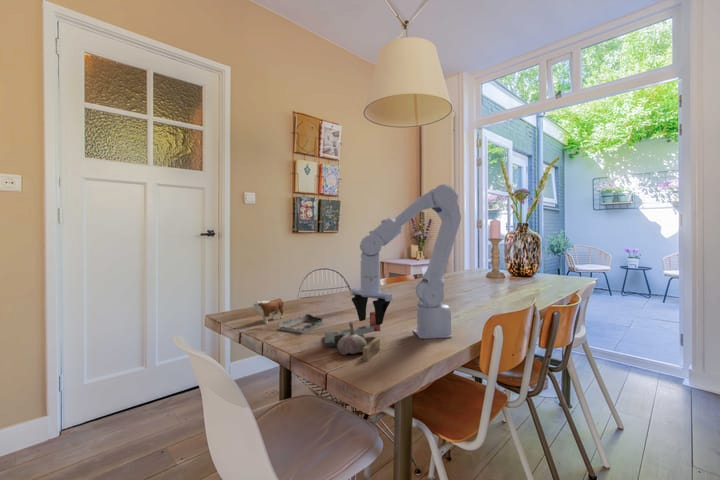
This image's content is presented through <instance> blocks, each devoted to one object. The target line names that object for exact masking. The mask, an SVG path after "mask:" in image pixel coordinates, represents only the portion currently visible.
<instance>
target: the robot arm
mask: <svg viewBox="0 0 720 480" xmlns="http://www.w3.org/2000/svg"><path fill="white" fill-rule="evenodd" d="M458 199H459V196H458V194H457V192H456V191H455V190H454V188H453V187H452V186H451V185H449V184H445V183H444V184H443V183H442V184H439V185H437V186H436V187H434V188H433V189H430V190H429V191H428V192H427V193H424V194H422V195H421V196H420V197H418V198H416V199H415V200H414V201H413V202H412V203H410V205H408V206H407V207H406V208H405V209H404V210H402V211H401V213H399V214H398V215H397V216H396V217H395V218H394V217H388V218H386V219H385V218H383V219H382V220H381V221H380V224H378V226H377V227H375V228H374V229H373V230H370V231H368V233H369V235H366V236H365V237H363V238H362V239H361V241H360V244H359V249H360V251H361V253H360V258H361V259H360V288H355V287H354V288H350V291H349V293H350V296H354V297H351V302H352V303H353V305H354V307H355V309H356V313H357V317H358V321H359V322H363V321H365V320H366V319H367V304H368V300H369V298H370V299H373V301H372V305H373V308H374V312H375V316H376V325H380V326H381V325H383V323H384V318H385V314H386V312H387V309H388V308H389V306H390V304H391V301H393V293H390V292H386V291H383V290H381V261H380V251H382V247H386V246H387V245H388V244H389V243H390V242H392V241H393V240H394V239H395V238H396V237H397V236H399V235H400V234H401V233H402V227H403V226H404V225H405V224H406V223H409V221H410V220H412V219H413V218H414V217H416V215H418V214H420V213H421V212H422V211H424V210H429V209H432V210H433V211H434V212H436V214H437V216H438V218H439V219H440V220H441V223H440V227H439V230H438V231H437V232H438V233H437V236H436V240H435V243H434V246H433V249H432V253H431V254H430V255H431V256H430V259H429V261H428V262H429V263H428V265H427V269H426V271H425V272H424V274H423V275H422V277H421V280H420V281H419V282H418V283H417V285H416V287H415V293H416V296H417V297H418V301H417V302H416V309H417V310H416V315H417V316H416V320H417V321H416V323H417V324H416V327H417V328H414V329H412V331H413V332H414V334H415V335H416V336H417V337H418V338H419V339H421V340H422V339H439V338H440V339H441V338H443V339H444V338H445V339H446V338H452V337H453V336H452V312H451V308H450V306H449V305H448V304H445V303H444V304H443V301H444V298H445V291H444V287H445V285H446V284H445V283H446V282H445V278H444V277H445V272H446V269H447V266H448V263H449V260H450V256H451V253H452V249H453V246H454V243H455V239H456V237H457V233H458V230H459V227H460V223H461V219H462V215H461V210H460V207H459V202H458V201H459V200H458ZM374 299H375V300H374Z"/></svg>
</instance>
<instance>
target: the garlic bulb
mask: <svg viewBox="0 0 720 480" xmlns="http://www.w3.org/2000/svg"><path fill="white" fill-rule="evenodd" d="M348 325H349V329H350V334H349V335H345V336H343V337H342V338H341V339H340V340H339V341H338V344H337V347H336V348H337V349H338V352H339V354H341V355H343V356H345V355H346V356H347V354H351V355H355V354H358V353H363V347H365V346H366V345H367V344H368V343H367V340H366V338H365V339H364V338H363V337H362V336H359V335H357V334H355V332H354V328H355V327H354V324H353V321H352V320H350V321H349V322H348Z"/></svg>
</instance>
